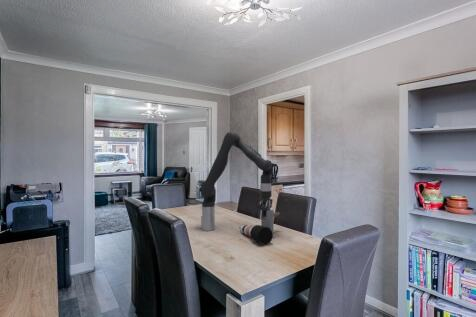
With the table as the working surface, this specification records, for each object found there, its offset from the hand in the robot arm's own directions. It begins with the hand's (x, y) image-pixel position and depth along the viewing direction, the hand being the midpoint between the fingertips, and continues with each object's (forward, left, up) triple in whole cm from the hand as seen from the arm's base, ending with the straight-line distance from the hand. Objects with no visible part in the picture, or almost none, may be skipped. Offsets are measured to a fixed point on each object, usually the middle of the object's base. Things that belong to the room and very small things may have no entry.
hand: (265, 215), depth 174 cm
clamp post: (+2, 0, -14) cm, 14 cm away
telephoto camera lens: (-5, -8, -15) cm, 18 cm away
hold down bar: (0, +7, -2) cm, 7 cm away
